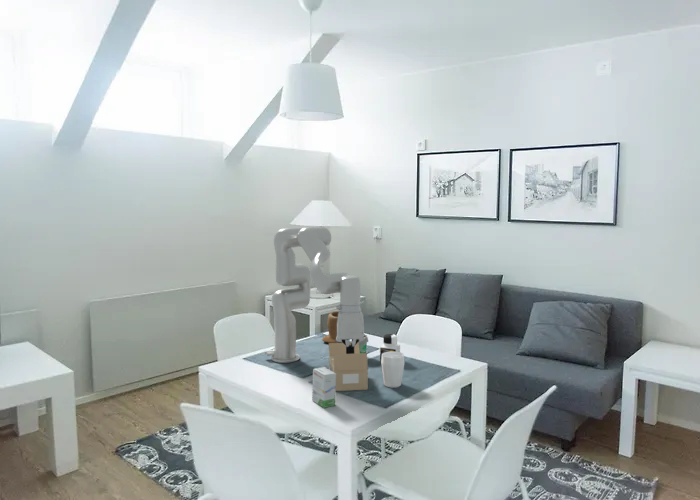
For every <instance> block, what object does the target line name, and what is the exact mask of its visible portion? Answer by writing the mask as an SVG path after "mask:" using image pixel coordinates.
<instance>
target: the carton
mask: <svg viewBox="0 0 700 500" xmlns="http://www.w3.org/2000/svg"><path fill="white" fill-rule="evenodd" d="M328 360H329V361H328V363H329V364H328V365H329V366H328V369H329V370H331V371H332V372H334V373H336V391H335V392H343V391H344V392H345V391H363V390H366V391H367V390H368V387H369V386H368V384H369V382H368V381H369V380H368V378H369V376H368V375H369V373H368V372H369V370H368V369H365V370H339V371H334V356H329V357H328Z"/></svg>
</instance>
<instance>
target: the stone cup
mask: <svg viewBox="0 0 700 500" xmlns="http://www.w3.org/2000/svg"><path fill="white" fill-rule="evenodd" d="M339 312H340V310H335V311H331V312H330V313H329V314H328V316H327V329H328V334H327V335H325V336H324V337H322V339H321V340H322V342H324V343H328V344H329V343H339V342H338V341H336V337H337V319H338V313H339Z"/></svg>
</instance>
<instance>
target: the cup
mask: <svg viewBox="0 0 700 500" xmlns="http://www.w3.org/2000/svg"><path fill="white" fill-rule="evenodd" d="M380 363H381V371H382V377H383V378H382V379H383V385H384V386H385V387H387V388H392V389H393V388H399V387H400V386H402V381H403V375H404V368H405V354H404V353H403V352H401V351H400V352H394V351H390V352H384V353H382V359H381V362H380Z"/></svg>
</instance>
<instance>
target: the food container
mask: <svg viewBox="0 0 700 500" xmlns="http://www.w3.org/2000/svg"><path fill="white" fill-rule="evenodd" d="M368 342H369V337H368V336H367V334H365V333H364V340H363V341H359V350H360V353H367V346H368V345H367V344H368Z"/></svg>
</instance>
